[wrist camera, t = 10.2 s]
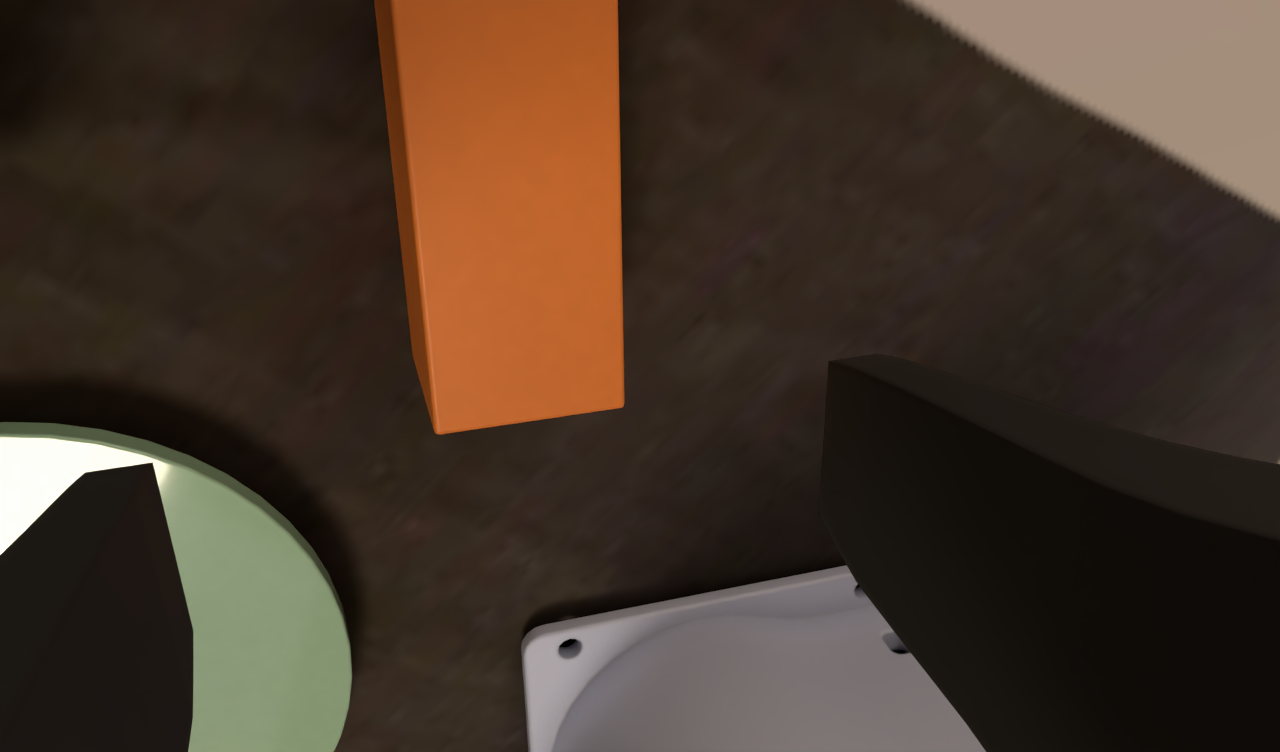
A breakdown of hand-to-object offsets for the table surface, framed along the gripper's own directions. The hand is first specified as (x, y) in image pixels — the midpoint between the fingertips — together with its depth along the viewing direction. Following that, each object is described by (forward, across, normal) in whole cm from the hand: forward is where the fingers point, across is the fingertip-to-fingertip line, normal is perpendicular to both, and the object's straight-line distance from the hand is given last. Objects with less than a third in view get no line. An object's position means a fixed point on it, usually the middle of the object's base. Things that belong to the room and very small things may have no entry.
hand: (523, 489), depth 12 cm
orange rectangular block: (+9, -1, -1) cm, 9 cm away
